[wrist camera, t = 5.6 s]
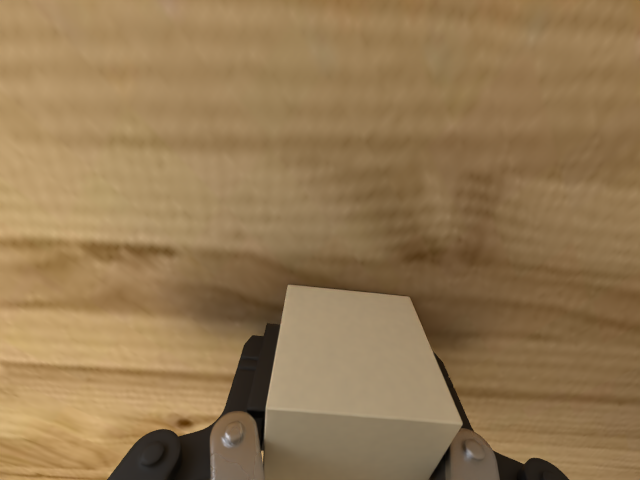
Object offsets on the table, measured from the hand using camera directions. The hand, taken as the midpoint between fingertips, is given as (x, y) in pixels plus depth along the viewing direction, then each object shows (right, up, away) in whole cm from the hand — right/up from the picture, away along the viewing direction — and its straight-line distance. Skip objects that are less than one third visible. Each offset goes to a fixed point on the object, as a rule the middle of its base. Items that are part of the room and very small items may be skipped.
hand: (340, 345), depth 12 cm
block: (0, 0, +1) cm, 1 cm away
